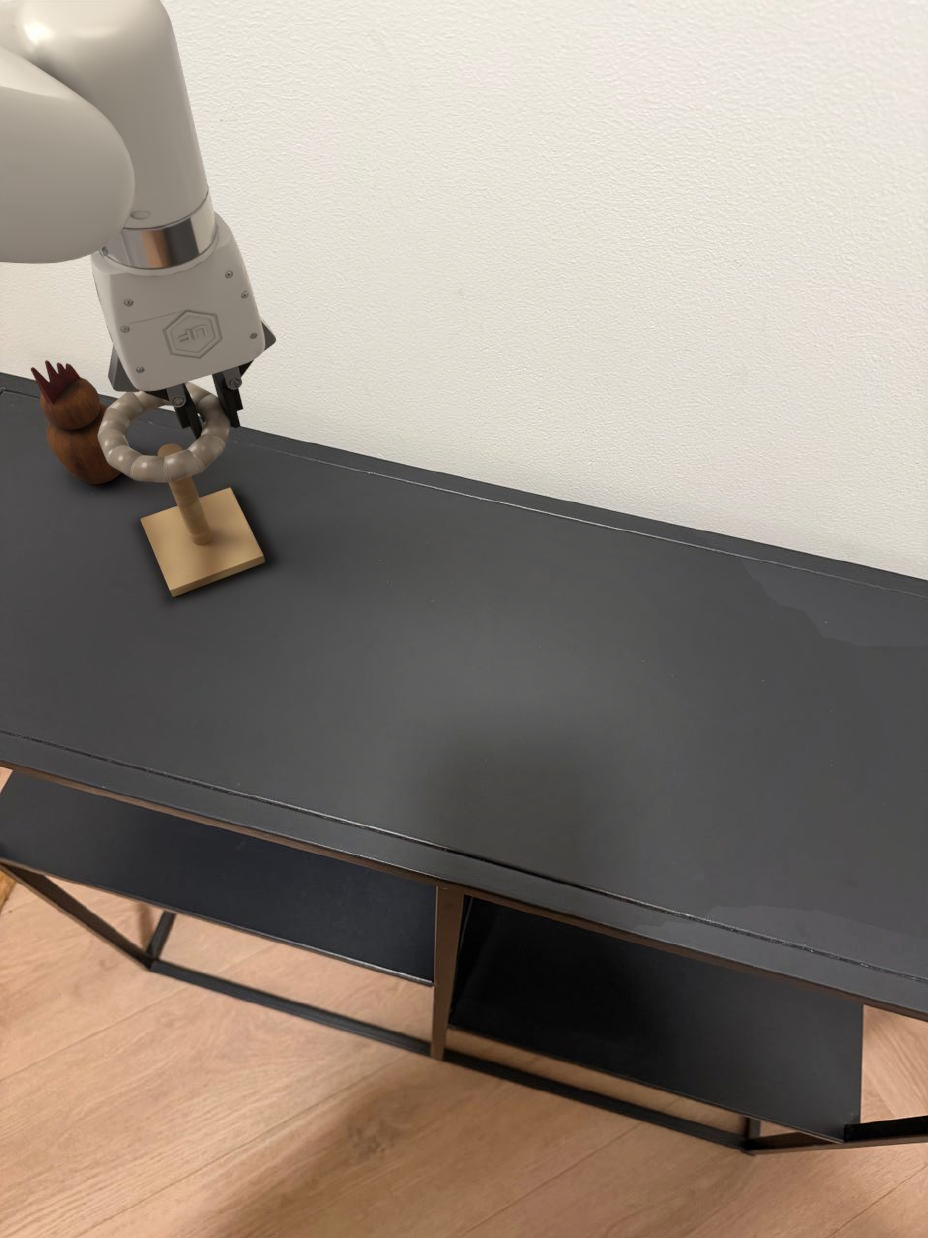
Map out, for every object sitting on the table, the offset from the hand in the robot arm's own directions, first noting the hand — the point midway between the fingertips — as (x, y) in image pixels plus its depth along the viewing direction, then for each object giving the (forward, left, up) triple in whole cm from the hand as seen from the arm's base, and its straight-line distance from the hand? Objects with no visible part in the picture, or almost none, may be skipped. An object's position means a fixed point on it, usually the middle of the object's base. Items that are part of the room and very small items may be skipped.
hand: (212, 420), depth 69 cm
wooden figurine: (-10, +13, -15) cm, 22 cm away
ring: (-4, 0, +1) cm, 4 cm away
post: (-4, 0, -15) cm, 16 cm away
